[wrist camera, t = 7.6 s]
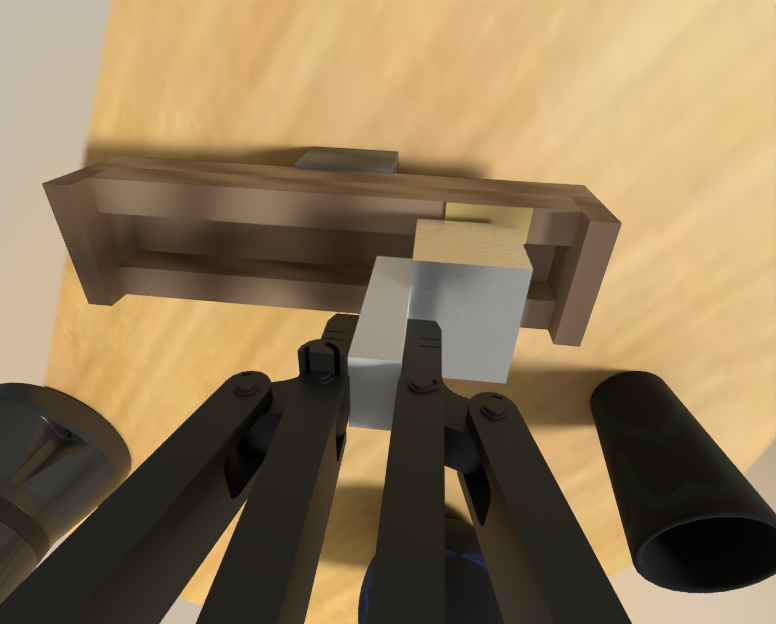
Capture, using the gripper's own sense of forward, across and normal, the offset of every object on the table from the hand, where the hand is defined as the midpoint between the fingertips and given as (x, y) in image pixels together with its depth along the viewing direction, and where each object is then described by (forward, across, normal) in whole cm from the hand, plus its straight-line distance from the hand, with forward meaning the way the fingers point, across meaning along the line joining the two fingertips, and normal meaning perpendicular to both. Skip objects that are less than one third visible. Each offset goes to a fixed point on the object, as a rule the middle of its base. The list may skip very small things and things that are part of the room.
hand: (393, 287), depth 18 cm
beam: (+11, -3, 0) cm, 11 cm away
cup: (+11, +18, -14) cm, 25 cm away
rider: (+4, +3, 0) cm, 5 cm away
